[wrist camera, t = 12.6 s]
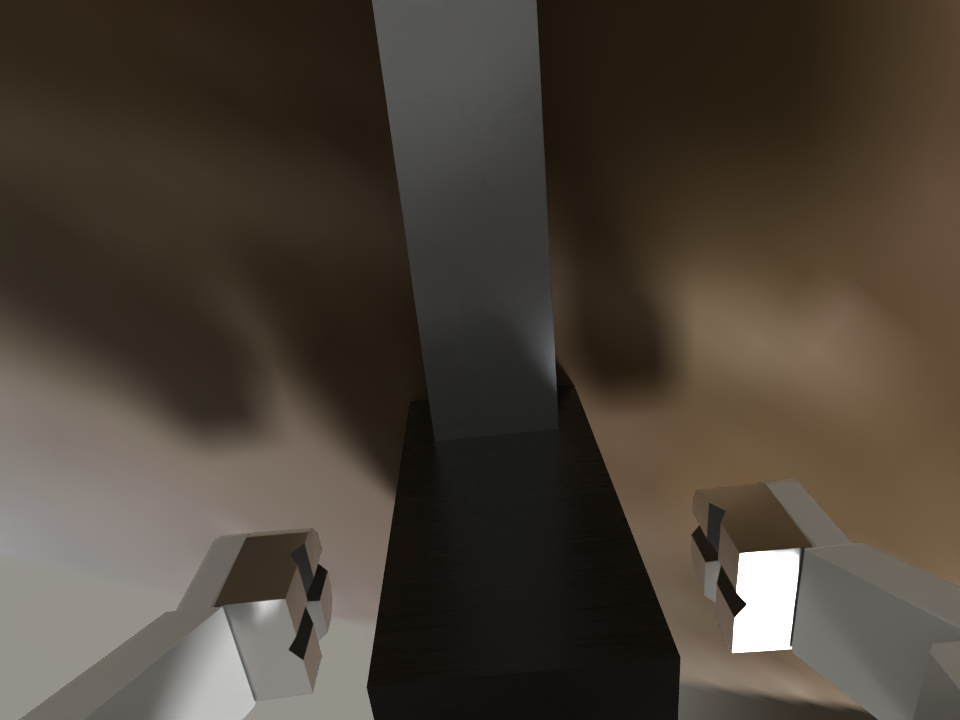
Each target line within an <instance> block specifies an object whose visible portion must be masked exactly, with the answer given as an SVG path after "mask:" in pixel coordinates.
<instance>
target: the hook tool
mask: <svg viewBox="0 0 960 720" xmlns="http://www.w3.org/2000/svg"><path fill="white" fill-rule="evenodd" d="M372 4H373V11H374V19H375V26H376V33H377V40H378V47H379V54H380V61H381V68H382V75H383V82H384V89H385V96H386V103H387V110H388V117H389V124H390V131H391V138H392V145H393V152H394V159H395V166H396V173H397V180H398V187H399V194H400V201H401V208H402V215H403V222H404V229H405V236H406V243H407V250H408V257H409V264H410V271H411V278H412V285H413V292H414V299H415V306H416V313H417V320H418V327H419V334H420V341H421V348H422V356H423V363H424V370H425V377H426V384H427V391H428V398H429V400H423V401H413V402H410V406H409V413H408V419H407V426H406V433H405V439H404V446H403V452H402V459H401V466H400V472H399V479H398V485H397V492H396V498H395V505H394V512H393V518H392V525H391V531H390V538H389V545H388V551H387V558H386V564H385V571H384V578H383V584H382V591H381V597H380V604H379V610H378V617H377V624H376V630H375V637H374V643H373V651H372V657H371V663H370V670H369V677H368V683H367V691H368V695H369V699H370V703H371V708H372V712H373V716H374V720H678V701H679V678H680V655H679V653H678V650H677V648H676V645H675V643H674V640H673V637H672V635H671V632H670V630H669V627H668V625H667V622H666V619H665V617H664V614H663V612H662V609H661V607H660V604H659V601H658V599H657V596H656V594H655V591H654V589H653V586H652V584H651V581H650V578H649V576H648V573H647V571H646V568H645V566H644V563H643V560H642V558H641V555H640V553H639V550H638V548H637V545H636V543H635V540H634V537H633V535H632V532H631V530H630V527H629V525H628V522H627V519H626V517H625V514H624V512H623V509H622V507H621V504H620V501H619V499H618V496H617V494H616V491H615V489H614V486H613V484H612V481H611V478H610V476H609V473H608V471H607V468H606V466H605V463H604V460H603V458H602V455H601V453H600V450H599V448H598V445H597V443H596V440H595V437H594V435H593V432H592V430H591V427H590V425H589V422H588V419H587V417H586V414H585V412H584V409H583V407H582V404H581V401H580V399H579V396H578V394H577V391H576V389H575V386H574V385H573V386H563V387H557V384H556V364H555V345H554V326H553V307H552V288H551V269H550V250H549V231H548V212H547V193H546V174H545V155H544V136H543V116H542V97H541V78H540V59H539V40H538V21H537V2H536V0H372Z"/></svg>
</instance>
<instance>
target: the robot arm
mask: <svg viewBox="0 0 960 720" xmlns="http://www.w3.org/2000/svg"><path fill="white" fill-rule="evenodd" d="M692 512H693V514H694V516H695V517H696V519H697V521H698V523H699V526H698V527H697V529H696V530H695V531H694V532H693V534H692V537H691V553H692V559H693V565H694V571H695V574H696V577H697V580H698V583H699V585H700V587H701V589H702V592H703V594H704V595H705V596H706V597H708V598H709V599H711V600H713V601H714V602H716V606H715V619H716V621H717V623H718V625H719V627H720V629H721V631H722V633H723V635H724V637H725V639H726V641H727V643H728V645H729V647H730V649H731V651H732V653H736V652H750V651H764V650H779V649H791V652H792V653H794V654H795V655H796V656H798V657H799V658H800V659H801V660H803V661H804V662H805V663H807V664H808V665H809V666H810V667H812V668H813V669H814V670H816V671H817V672H818V673H819V674H821V675H822V676H823V677H824V678H826V679H827V680H828V681H830V682H831V683H832V684H833V685H835V686H836V687H837V688H839V689H840V690H841V691H842V692H844V693H845V694H846V695H848V696H849V697H850V698H851V699H853V700H854V701H855V702H856V703H858V704H859V705H860V706H862V707H863V708H864V709H865V710H867V711H868V712H869V713H871V714H872V715H873V716H875V717H876V718H877V719H878V720H960V587H959V586H957V585H955V584H952V583H950V582H948V581H946V580H944V579H941V578H939V577H937V576H935V575H933V574H930V573H928V572H926V571H924V570H921V569H919V568H917V567H915V566H913V565H910V564H908V563H906V562H904V561H902V560H899V559H897V558H895V557H893V556H891V555H888V554H886V553H884V552H882V551H880V550H877V549H875V548H873V547H871V546H869V545H866V544H864V543H855V544H852V543H851V542H850V540H849V539H848V538H847V537H846V536H845V535H844V534H843V532H842V531H841V530H840V529H839V528H838V527H837V526H836V524H835V523H834V522H833V521H832V520H831V519H830V518H829V516H828V515H827V514H826V513H825V512H824V511H823V510H822V508H821V507H820V506H819V505H818V504H817V503H816V502H815V500H814V499H813V498H812V497H811V496H810V495H809V494H808V492H807V491H806V490H805V489H804V488H803V487H802V486H801V484H800V483H799V482H798V481H796V480H794V479H792V478H789V479H781V480H773V481H766V482H759V483H758V484H749V485H740V486H730V487H721V488H712V489H702V490H696V491H695V494H694V497H693V511H692ZM321 551H322V547H321V543H320V540H319V536H318V533H317V532H316V531H315V530H314V529H313V528H309V529H296V530H283V531H271V532H258V533H252V534H248V533H247V534H237V535H227V536H221V537H219V538H217V539H216V540H215V541H214V542H213V544H212V545H211V547H210V549H209V551H208V553H207V554H206V556H205V558H204V560H203V562H202V564H201V565H200V567H199V569H198V571H197V573H196V575H195V576H194V578H193V580H192V582H191V584H190V586H189V587H188V589H187V591H186V593H185V595H184V597H183V598H182V600H181V602H180V604H179V606H178V608H177V609H176V611H172V612H166V613H164V614H163V615H161V616H160V617H158V618H157V619H156V620H154V621H153V622H152V623H150V624H149V625H148V626H146V627H145V628H144V629H142V630H141V631H139V632H138V633H137V634H135V635H134V636H133V637H131V638H130V639H128V640H127V641H126V642H124V643H123V644H122V645H120V646H119V647H118V648H116V649H115V650H114V651H112V652H111V653H109V654H108V655H107V656H105V657H104V658H103V659H101V660H100V661H99V662H97V663H96V664H94V665H93V666H92V667H91V668H89V669H88V670H86V671H85V672H83V673H82V674H81V675H79V676H78V677H77V678H76V679H74V680H73V681H71V682H70V683H68V684H67V685H66V686H64V687H63V688H62V689H60V690H59V691H58V692H56V693H55V694H53V695H52V696H51V697H49V698H48V699H47V700H45V701H44V702H43V703H41V704H40V705H39V706H37V707H36V708H34V709H33V710H32V711H30V712H29V713H28V714H26V715H25V716H23V717H22V718H21V719H19V720H243V719H244V717H245V716H246V715H247V714H248V713H249V712H250V710H251V709H252V708H253V707H254V706H255V701H259V700H267V699H275V698H283V697H291V696H298V695H306V694H313V691H314V687H315V682H316V678H317V674H318V670H319V666H320V662H321V658H322V655H321V650H320V646H319V642H318V641H319V640H320V639H321V638H322V637H323V636H324V635H326V634H327V632H328V629H329V624H330V620H331V609H332V593H331V584H330V579H329V575H328V571H327V570H326V569H324V568H323V567H322V566H321V565H319V564H318V562H319V558H320V555H321Z"/></svg>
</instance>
